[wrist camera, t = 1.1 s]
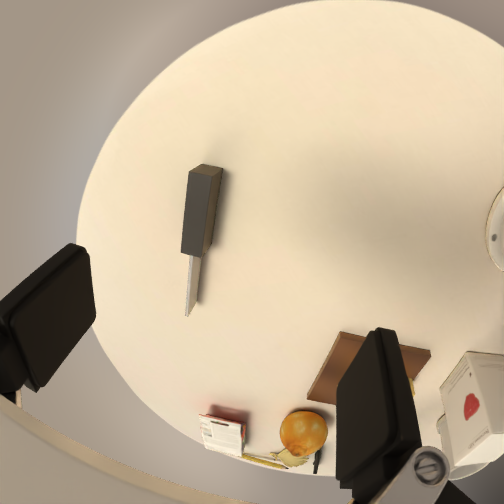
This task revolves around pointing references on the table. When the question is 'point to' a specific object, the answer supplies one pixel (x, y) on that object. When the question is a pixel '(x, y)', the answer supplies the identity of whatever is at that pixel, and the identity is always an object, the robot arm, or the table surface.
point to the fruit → (303, 433)
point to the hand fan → (290, 458)
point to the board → (343, 357)
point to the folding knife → (316, 461)
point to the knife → (199, 222)
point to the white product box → (475, 408)
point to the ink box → (223, 435)
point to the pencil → (263, 462)
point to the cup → (455, 471)
